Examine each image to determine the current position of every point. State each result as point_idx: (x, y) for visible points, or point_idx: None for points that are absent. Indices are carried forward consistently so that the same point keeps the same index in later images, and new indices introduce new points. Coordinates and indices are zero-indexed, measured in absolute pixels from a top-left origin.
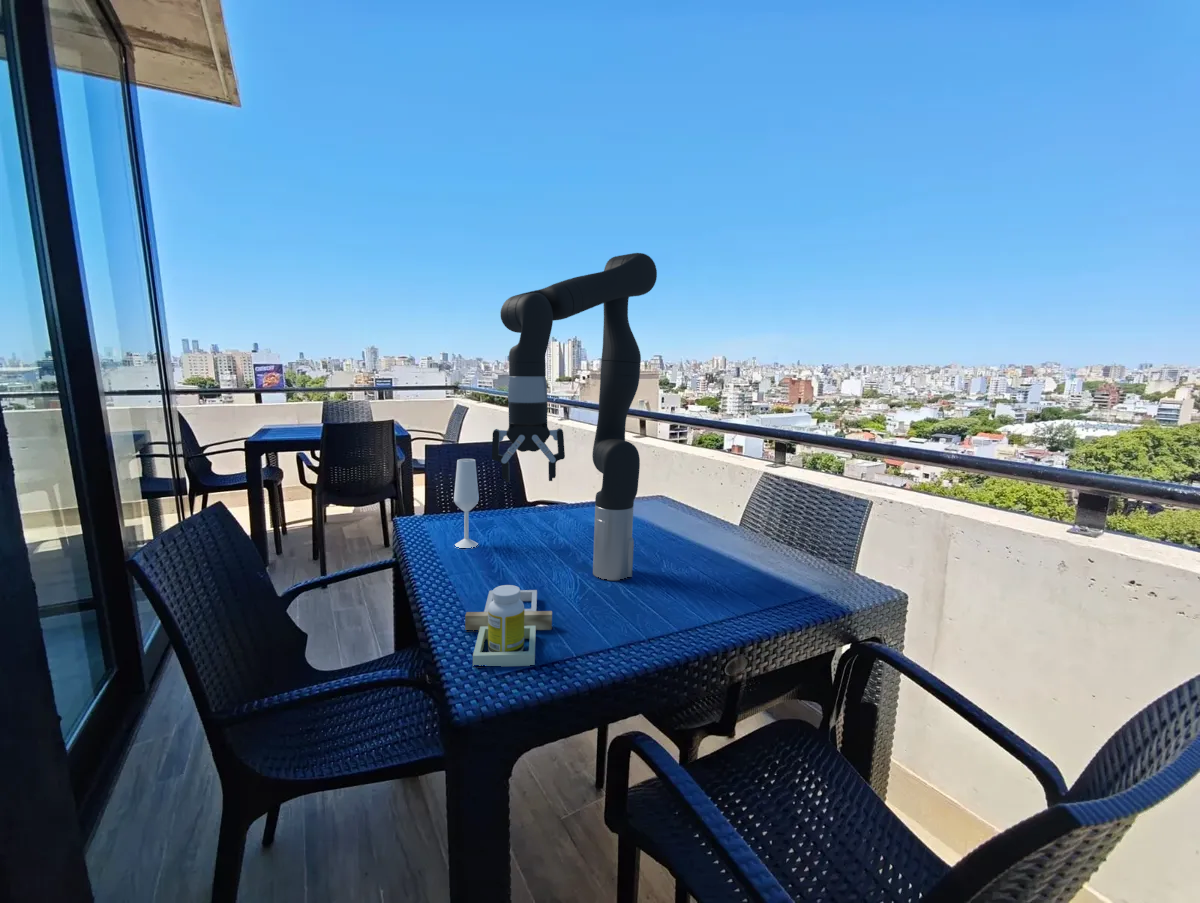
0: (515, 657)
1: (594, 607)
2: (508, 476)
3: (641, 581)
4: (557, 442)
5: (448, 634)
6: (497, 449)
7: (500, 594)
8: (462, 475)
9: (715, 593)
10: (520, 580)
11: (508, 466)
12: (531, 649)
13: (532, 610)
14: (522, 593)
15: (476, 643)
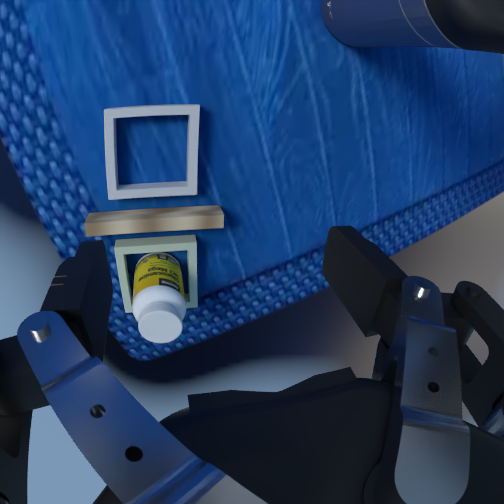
0: None
1: (296, 144)
2: (107, 311)
3: (390, 59)
4: (501, 376)
5: (71, 234)
6: (22, 460)
7: (154, 340)
8: None
9: (453, 127)
10: (167, 15)
11: (101, 356)
12: (193, 298)
13: (190, 193)
14: (170, 114)
15: (121, 289)
